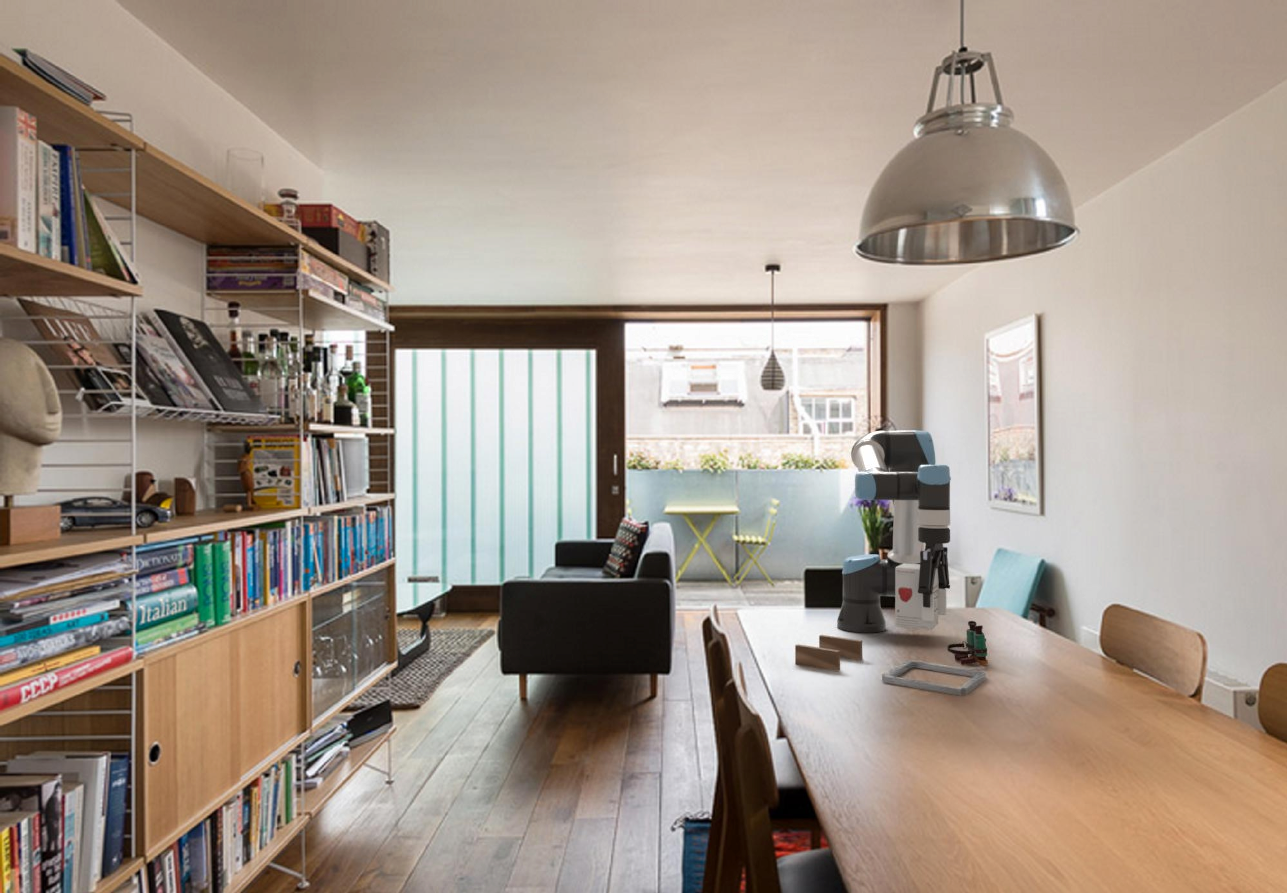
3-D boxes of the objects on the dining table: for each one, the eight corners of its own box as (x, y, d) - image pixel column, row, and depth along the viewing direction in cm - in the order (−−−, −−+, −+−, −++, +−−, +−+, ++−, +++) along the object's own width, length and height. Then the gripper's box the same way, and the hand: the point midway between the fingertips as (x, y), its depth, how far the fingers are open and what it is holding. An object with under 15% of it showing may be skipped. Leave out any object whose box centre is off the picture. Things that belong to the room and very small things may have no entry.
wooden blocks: (821, 652, 234) (821, 634, 234) (862, 658, 227) (862, 640, 227) (795, 664, 221) (795, 645, 221) (837, 671, 214) (837, 651, 214)
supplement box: (893, 626, 207) (893, 566, 207) (903, 620, 214) (902, 562, 214) (931, 630, 202) (931, 569, 202) (939, 624, 210) (939, 565, 210)
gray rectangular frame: (908, 665, 220) (908, 659, 220) (988, 677, 208) (988, 671, 208) (879, 682, 204) (879, 675, 204) (964, 696, 192) (964, 690, 192)
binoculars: (941, 622, 228) (977, 619, 228) (945, 661, 228) (981, 657, 228) (952, 629, 219) (990, 625, 219) (957, 669, 219) (995, 665, 219)
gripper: (933, 523, 217) (933, 609, 217) (903, 528, 200) (903, 622, 199) (962, 524, 212) (962, 612, 212) (935, 530, 195) (935, 626, 195)
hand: (934, 617), depth 206 cm, fingers closed on supplement box, 9 cm apart
